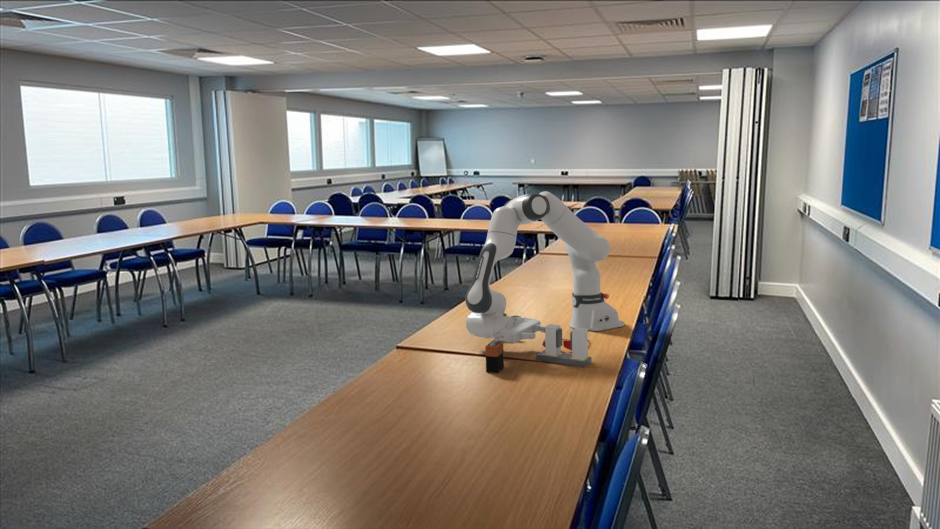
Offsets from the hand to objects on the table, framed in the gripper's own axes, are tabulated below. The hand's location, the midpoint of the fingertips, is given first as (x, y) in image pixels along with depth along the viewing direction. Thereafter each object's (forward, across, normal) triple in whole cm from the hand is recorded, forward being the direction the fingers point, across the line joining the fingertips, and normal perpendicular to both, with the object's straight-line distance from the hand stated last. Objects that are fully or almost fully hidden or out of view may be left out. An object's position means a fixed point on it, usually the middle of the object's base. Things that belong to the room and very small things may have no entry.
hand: (540, 333), depth 231 cm
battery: (-8, -18, +9) cm, 22 cm away
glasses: (+1, +18, +10) cm, 21 cm away
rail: (+9, 0, +9) cm, 13 cm away
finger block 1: (+5, 0, +7) cm, 8 cm away
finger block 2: (+15, 0, +7) cm, 16 cm away
